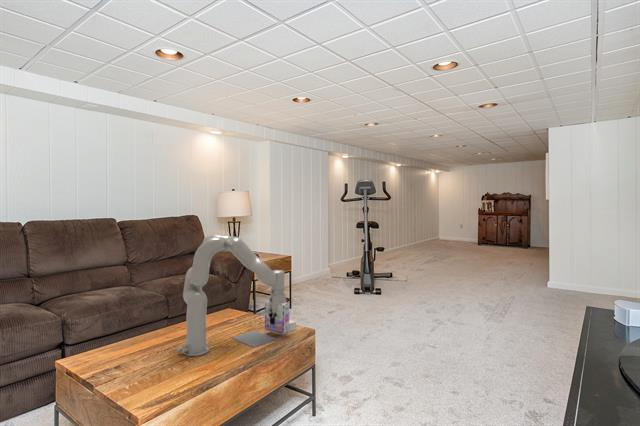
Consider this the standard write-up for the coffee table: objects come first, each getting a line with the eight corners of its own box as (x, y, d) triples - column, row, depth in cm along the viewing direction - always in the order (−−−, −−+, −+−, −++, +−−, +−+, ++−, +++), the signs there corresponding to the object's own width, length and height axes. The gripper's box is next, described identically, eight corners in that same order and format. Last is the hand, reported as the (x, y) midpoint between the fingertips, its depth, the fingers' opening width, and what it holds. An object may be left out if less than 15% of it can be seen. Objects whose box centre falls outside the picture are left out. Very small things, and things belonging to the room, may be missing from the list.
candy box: (289, 331, 205) (290, 302, 205) (283, 334, 200) (283, 305, 200) (270, 327, 212) (271, 299, 212) (264, 329, 207) (265, 301, 207)
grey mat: (253, 347, 188) (253, 346, 188) (231, 338, 201) (231, 337, 201) (276, 339, 199) (276, 338, 199) (255, 331, 213) (255, 330, 213)
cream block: (289, 331, 212) (289, 323, 212) (284, 329, 215) (284, 321, 215) (296, 329, 216) (296, 321, 216) (290, 328, 219) (290, 319, 219)
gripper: (270, 295, 197) (269, 327, 197) (293, 290, 210) (292, 321, 210) (261, 292, 202) (260, 324, 202) (284, 288, 215) (283, 318, 215)
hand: (276, 322), depth 206 cm, fingers closed on candy box, 6 cm apart
